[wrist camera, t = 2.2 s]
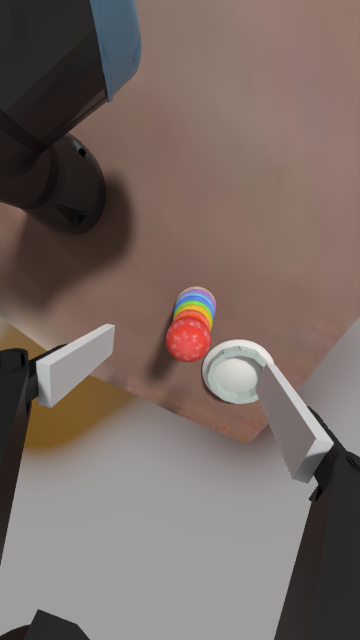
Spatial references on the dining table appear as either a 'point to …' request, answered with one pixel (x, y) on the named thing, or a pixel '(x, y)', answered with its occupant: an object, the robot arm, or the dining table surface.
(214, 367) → the collar base
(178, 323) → the stacking toy
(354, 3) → the dining table surface
